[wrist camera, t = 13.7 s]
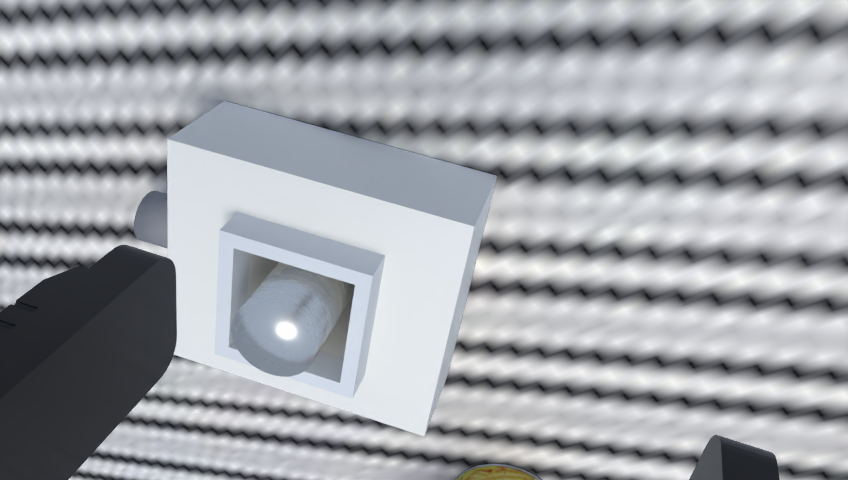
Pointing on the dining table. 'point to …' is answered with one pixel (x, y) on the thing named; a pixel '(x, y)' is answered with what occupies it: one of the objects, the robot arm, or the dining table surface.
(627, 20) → the dining table surface
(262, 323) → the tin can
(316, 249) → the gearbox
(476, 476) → the canned food
